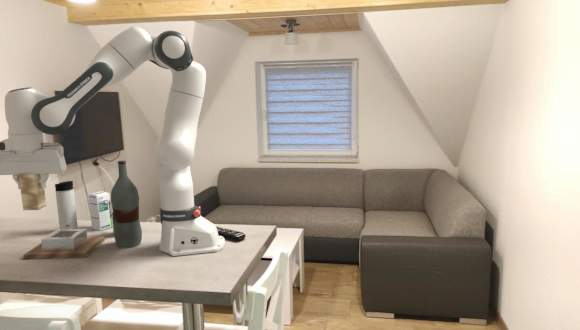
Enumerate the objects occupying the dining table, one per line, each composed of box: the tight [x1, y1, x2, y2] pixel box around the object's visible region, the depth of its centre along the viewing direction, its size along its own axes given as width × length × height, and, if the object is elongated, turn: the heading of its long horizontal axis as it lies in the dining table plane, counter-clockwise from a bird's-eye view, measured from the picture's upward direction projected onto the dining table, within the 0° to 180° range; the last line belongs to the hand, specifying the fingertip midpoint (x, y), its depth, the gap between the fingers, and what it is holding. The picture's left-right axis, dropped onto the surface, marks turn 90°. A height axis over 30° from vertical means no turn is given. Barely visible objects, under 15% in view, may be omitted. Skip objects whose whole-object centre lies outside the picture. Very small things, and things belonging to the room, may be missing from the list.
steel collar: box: [40, 228, 89, 251], centre depth 147 cm, size 10×10×4 cm
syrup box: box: [87, 190, 113, 232], centre depth 169 cm, size 6×6×14 cm
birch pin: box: [19, 174, 47, 211], centre depth 129 cm, size 4×4×11 cm
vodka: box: [110, 160, 143, 249], centre depth 149 cm, size 9×9×30 cm
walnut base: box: [22, 235, 105, 260], centre depth 148 cm, size 20×16×2 cm
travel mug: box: [54, 180, 79, 230], centre depth 166 cm, size 6×7×20 cm
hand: (32, 188), depth 129 cm, fingers closed on birch pin, 4 cm apart
